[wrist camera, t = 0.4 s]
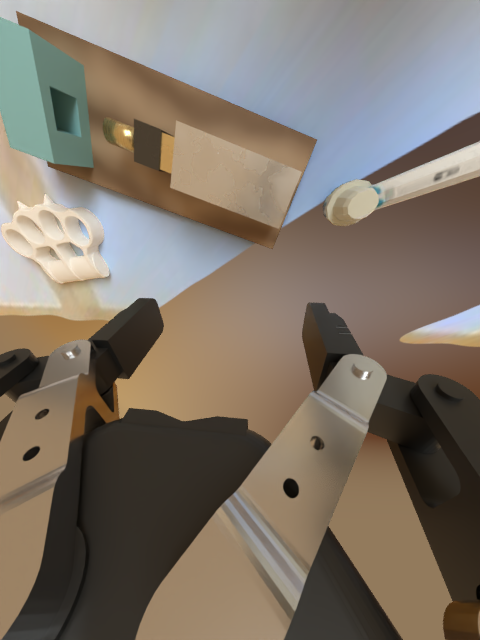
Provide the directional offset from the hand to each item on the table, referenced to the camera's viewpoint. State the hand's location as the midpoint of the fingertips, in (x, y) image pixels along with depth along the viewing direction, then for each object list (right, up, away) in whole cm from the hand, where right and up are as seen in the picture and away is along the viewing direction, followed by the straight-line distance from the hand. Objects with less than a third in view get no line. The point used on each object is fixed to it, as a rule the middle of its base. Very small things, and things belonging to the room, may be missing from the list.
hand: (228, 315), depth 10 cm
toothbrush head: (+25, +19, +16) cm, 35 cm away
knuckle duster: (-32, +15, +27) cm, 45 cm away
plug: (-4, +20, +15) cm, 26 cm away
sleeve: (+1, +19, +17) cm, 26 cm away
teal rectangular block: (-22, +27, +15) cm, 38 cm away
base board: (-9, +23, +18) cm, 30 cm away
